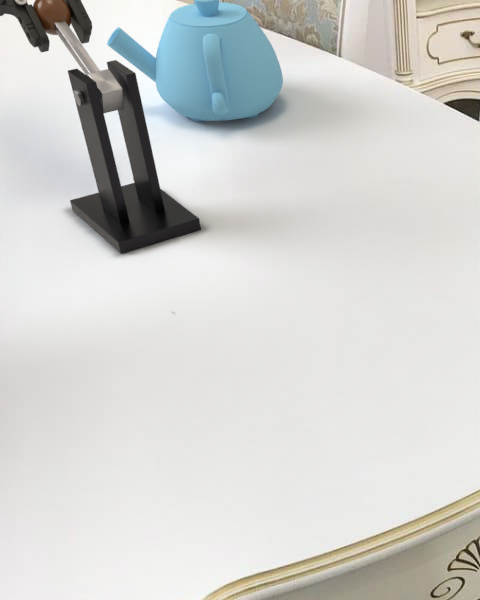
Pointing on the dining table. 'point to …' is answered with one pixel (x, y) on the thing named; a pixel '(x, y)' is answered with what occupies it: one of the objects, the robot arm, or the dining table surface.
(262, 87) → the teapot
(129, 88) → the bracket
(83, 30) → the robot arm
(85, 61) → the lever
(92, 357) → the dining table surface
